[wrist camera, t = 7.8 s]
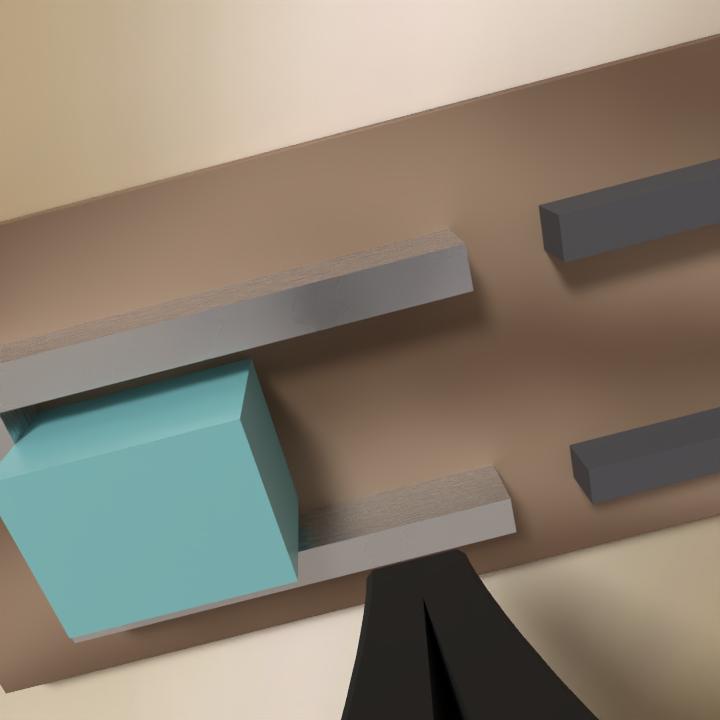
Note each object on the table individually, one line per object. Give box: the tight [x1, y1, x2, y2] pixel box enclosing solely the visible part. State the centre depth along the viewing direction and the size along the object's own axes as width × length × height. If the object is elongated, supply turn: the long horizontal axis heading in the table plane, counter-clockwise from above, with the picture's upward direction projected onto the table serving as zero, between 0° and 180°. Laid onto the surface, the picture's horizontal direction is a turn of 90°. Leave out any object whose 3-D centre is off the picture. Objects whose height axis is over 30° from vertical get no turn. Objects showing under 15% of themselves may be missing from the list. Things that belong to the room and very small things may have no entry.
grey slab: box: [0, 229, 516, 643], centre depth 15 cm, size 7×11×2 cm, turn 104°
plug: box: [0, 358, 299, 638], centre depth 14 cm, size 4×5×3 cm
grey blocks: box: [539, 158, 720, 504], centre depth 15 cm, size 7×7×1 cm
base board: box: [0, 34, 720, 693], centre depth 16 cm, size 12×29×1 cm, turn 104°
